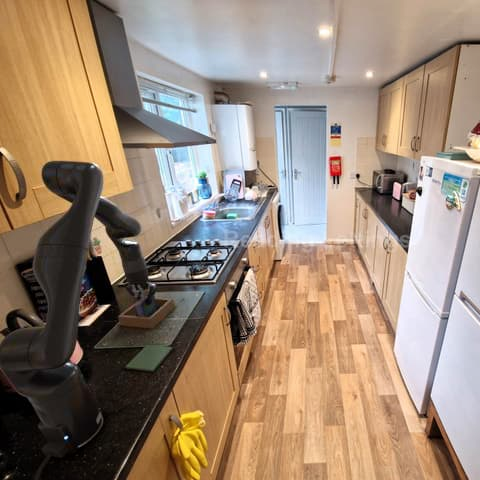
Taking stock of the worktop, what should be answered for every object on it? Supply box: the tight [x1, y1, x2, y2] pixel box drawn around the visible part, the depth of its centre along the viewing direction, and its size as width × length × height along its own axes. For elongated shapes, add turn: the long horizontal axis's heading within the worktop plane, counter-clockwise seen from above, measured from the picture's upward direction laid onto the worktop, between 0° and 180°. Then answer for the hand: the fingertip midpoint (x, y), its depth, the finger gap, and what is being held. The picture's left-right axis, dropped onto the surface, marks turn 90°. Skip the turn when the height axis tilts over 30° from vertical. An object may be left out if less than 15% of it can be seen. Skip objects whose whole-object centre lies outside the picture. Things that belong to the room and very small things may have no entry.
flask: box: [134, 294, 159, 317], centre depth 111 cm, size 9×3×11 cm, turn 172°
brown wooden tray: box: [117, 297, 176, 330], centre depth 112 cm, size 14×14×4 cm
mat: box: [125, 344, 174, 372], centre depth 91 cm, size 10×10×1 cm
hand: (145, 303), depth 111 cm, fingers closed on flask, 3 cm apart
